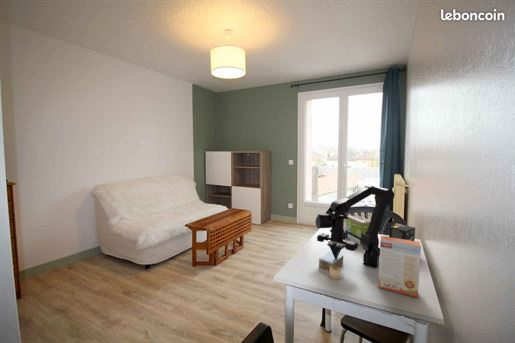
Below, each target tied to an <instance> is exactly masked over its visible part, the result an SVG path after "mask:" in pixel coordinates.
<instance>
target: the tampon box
mask: <svg viewBox="0 0 515 343" xmlns="http://www.w3.org/2000/svg"><path fill="white" fill-rule="evenodd" d="M388 230H389V232H388V235H389V236H388V237H391V238H398V239H404V240H410V241H415V238H416V237H415V236H416V227H414V226H410V225H406V224H402V223H398V224H394V225H391V226H389V229H388Z"/></svg>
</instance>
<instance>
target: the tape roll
mask: <svg viewBox="0 0 515 343" xmlns="http://www.w3.org/2000/svg"><path fill="white" fill-rule="evenodd" d="M328 271H329V273H328V278H330V279H332V280H334V281H340V279H341V274H342V271H341V268H340V266H339V267H336V266H331V267H330V269H329V270H328Z"/></svg>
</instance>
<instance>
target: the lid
mask: <svg viewBox="0 0 515 343" xmlns="http://www.w3.org/2000/svg"><path fill="white" fill-rule="evenodd" d="M342 257H343V258H344V254H341V253H339V255H338V258H337V259H335V258H334V255H333V253H332V251H331V250H330V251H328V252H326V254H324V255H322V256H321V257H319V259H318V261H319V260H322V261H325V262H327V263H330V264H334V263H335V262H337V261H338V260H339V259H341V258H342Z"/></svg>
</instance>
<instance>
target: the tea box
mask: <svg viewBox="0 0 515 343" xmlns="http://www.w3.org/2000/svg"><path fill="white" fill-rule="evenodd" d="M346 216H347V217H348V219H345V222H344V225H345V226H344V228H345V232H346V233H348V237H347V240H350V241H354V242H357V243H358V246H361V244H360V240H359V239H360V238H361V234H362V233H364V234H365V233H366V232H367V230H368V227H369V224H370V221H371V219H368V218H365V217H363V216H360V215H358V214H356V215H346ZM361 247H362V246H361Z"/></svg>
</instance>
